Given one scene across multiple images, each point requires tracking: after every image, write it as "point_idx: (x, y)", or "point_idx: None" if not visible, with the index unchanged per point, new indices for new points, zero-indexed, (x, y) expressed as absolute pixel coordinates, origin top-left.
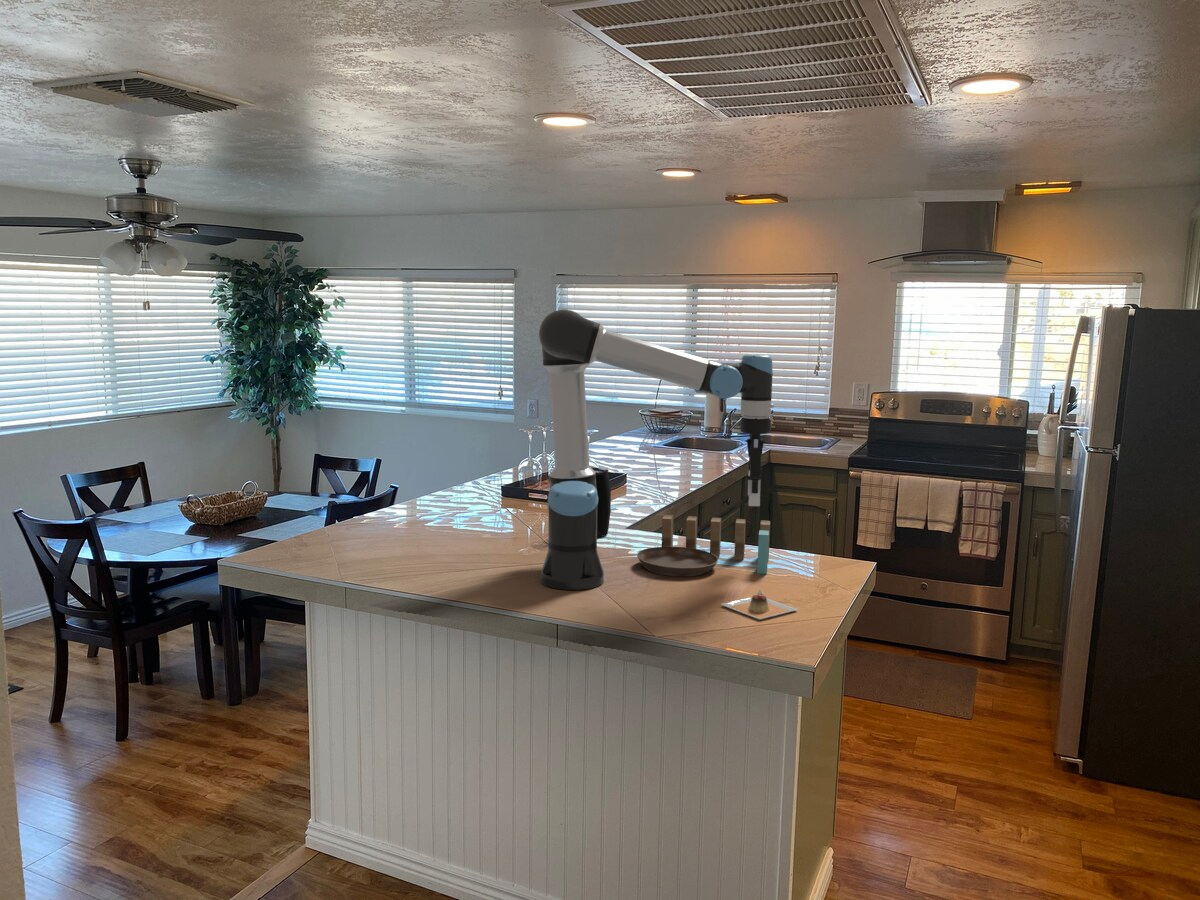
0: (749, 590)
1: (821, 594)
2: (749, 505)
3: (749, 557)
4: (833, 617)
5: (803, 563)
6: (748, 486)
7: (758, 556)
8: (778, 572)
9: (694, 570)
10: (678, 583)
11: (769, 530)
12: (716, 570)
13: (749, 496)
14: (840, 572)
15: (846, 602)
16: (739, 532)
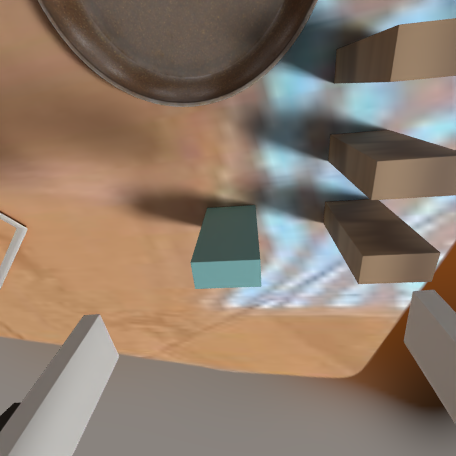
0: (66, 205)
1: (117, 318)
2: (84, 320)
3: None
4: (10, 331)
5: (326, 290)
6: (453, 344)
7: (202, 228)
8: None
9: (78, 43)
10: (9, 6)
11: (351, 271)
12: None
13: (51, 365)
14: (272, 344)
15: None
16: (359, 168)
